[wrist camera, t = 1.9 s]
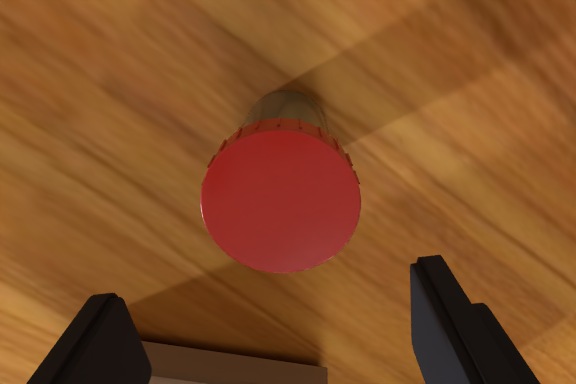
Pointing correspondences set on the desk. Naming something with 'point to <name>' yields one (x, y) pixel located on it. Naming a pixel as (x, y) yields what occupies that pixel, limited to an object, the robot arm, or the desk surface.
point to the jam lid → (281, 196)
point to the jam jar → (287, 109)
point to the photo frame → (224, 368)
